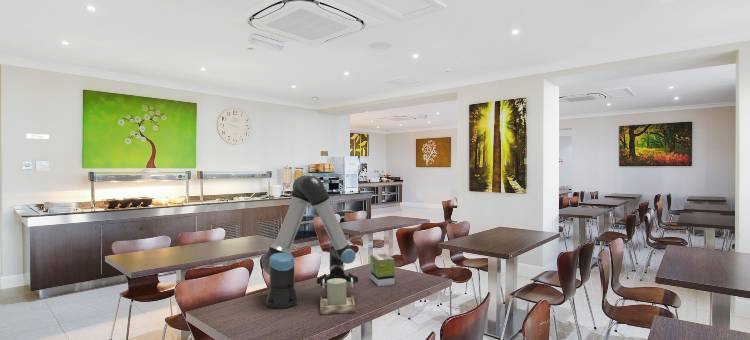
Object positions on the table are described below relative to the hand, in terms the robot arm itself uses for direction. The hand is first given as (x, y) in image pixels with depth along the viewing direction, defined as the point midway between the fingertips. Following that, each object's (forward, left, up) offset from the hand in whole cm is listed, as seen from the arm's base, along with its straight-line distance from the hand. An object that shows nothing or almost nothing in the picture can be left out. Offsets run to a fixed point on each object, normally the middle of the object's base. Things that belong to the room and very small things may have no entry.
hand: (338, 284), depth 195 cm
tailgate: (-1, +7, -10) cm, 12 cm away
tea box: (+26, +36, -10) cm, 46 cm away
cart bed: (-1, -3, -10) cm, 10 cm away
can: (-1, -3, -9) cm, 9 cm away
